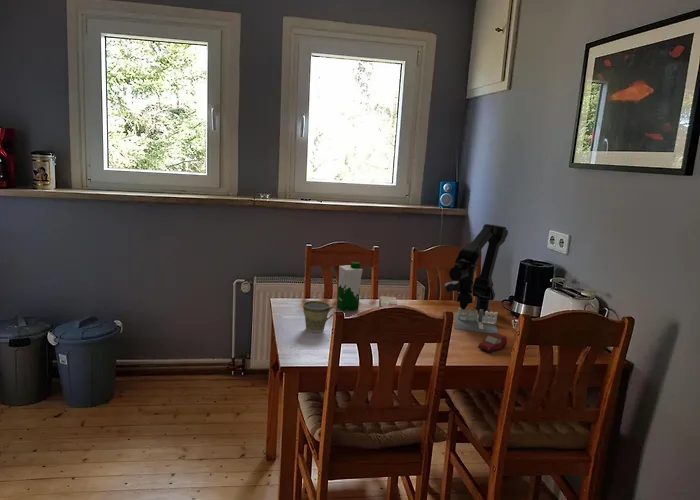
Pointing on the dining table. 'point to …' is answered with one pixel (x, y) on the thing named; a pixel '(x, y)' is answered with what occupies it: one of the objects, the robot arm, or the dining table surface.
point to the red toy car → (493, 342)
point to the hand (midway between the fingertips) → (461, 312)
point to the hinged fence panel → (467, 314)
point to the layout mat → (475, 324)
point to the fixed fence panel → (487, 316)
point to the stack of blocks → (387, 301)
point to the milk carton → (349, 286)
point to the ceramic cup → (316, 315)
